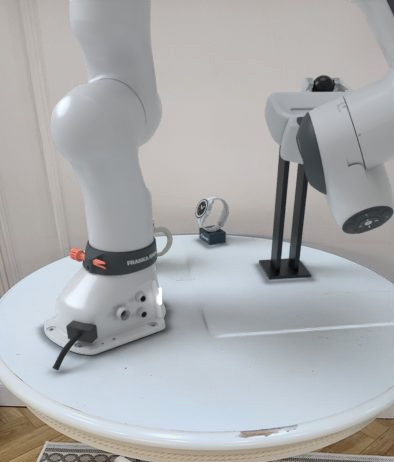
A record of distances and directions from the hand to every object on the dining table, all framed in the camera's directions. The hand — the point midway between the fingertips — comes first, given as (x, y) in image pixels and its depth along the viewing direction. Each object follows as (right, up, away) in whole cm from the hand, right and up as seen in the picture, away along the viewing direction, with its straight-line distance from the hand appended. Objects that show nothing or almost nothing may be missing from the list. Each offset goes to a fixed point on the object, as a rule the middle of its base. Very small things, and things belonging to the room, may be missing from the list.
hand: (320, 81), depth 86 cm
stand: (-1, -27, +28) cm, 39 cm away
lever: (0, -4, +6) cm, 7 cm away
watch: (-16, -17, +43) cm, 50 cm away
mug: (-31, -25, +32) cm, 51 cm away
